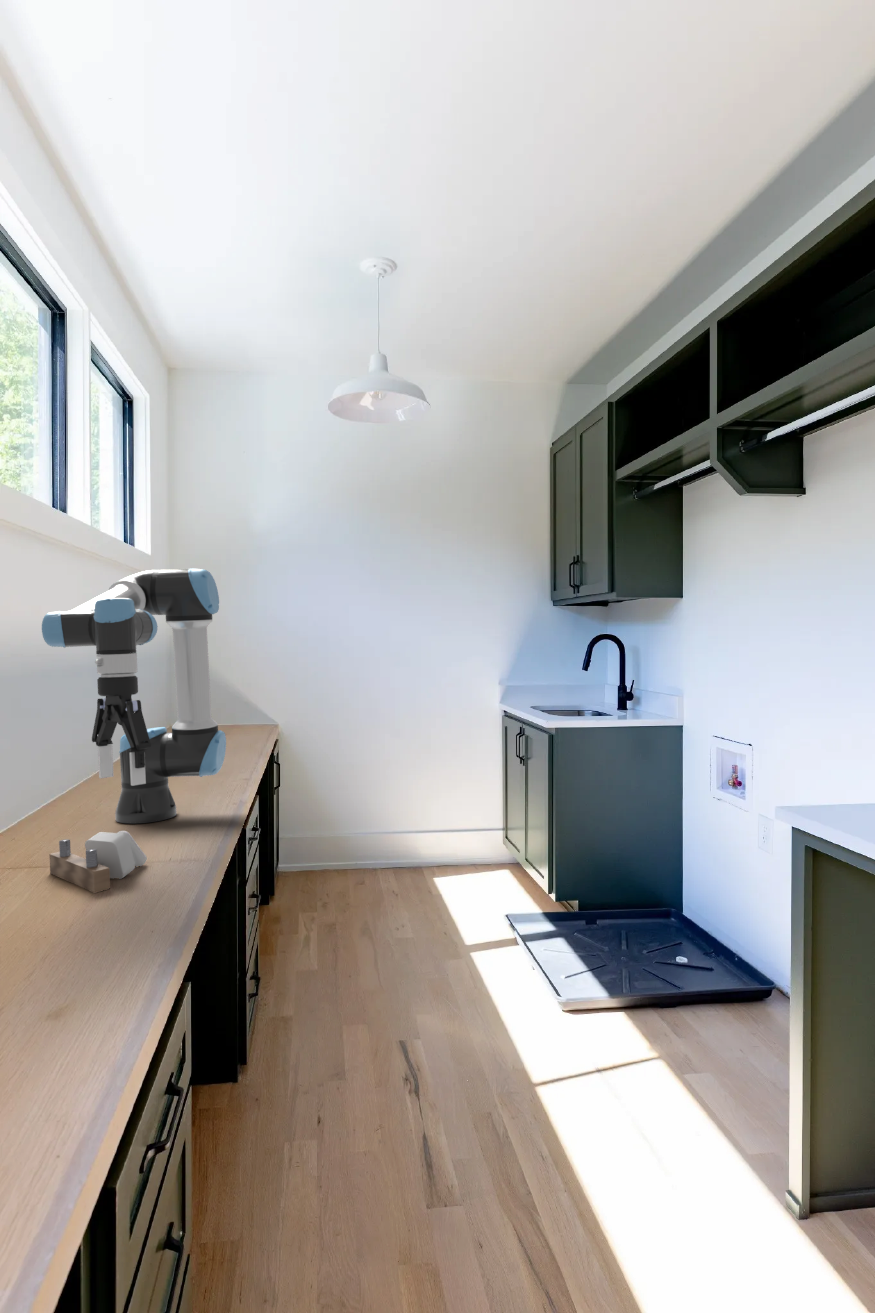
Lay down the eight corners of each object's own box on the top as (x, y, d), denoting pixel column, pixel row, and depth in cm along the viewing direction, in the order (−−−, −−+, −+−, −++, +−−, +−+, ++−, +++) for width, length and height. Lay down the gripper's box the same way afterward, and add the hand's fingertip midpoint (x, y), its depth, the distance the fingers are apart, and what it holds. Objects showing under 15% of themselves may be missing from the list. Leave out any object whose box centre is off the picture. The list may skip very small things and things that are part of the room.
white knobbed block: (160, 861, 169) (150, 818, 166) (126, 888, 160) (115, 842, 157) (129, 859, 172) (119, 815, 169) (94, 884, 163) (83, 839, 160)
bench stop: (50, 873, 165) (48, 839, 165) (65, 869, 167) (63, 836, 167) (94, 892, 151) (92, 855, 151) (110, 888, 153) (108, 852, 153)
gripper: (71, 675, 168) (76, 777, 169) (129, 677, 152) (134, 790, 152) (107, 673, 174) (111, 771, 175) (166, 675, 157) (170, 784, 158)
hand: (121, 781), depth 164 cm, fingers open, 13 cm apart
